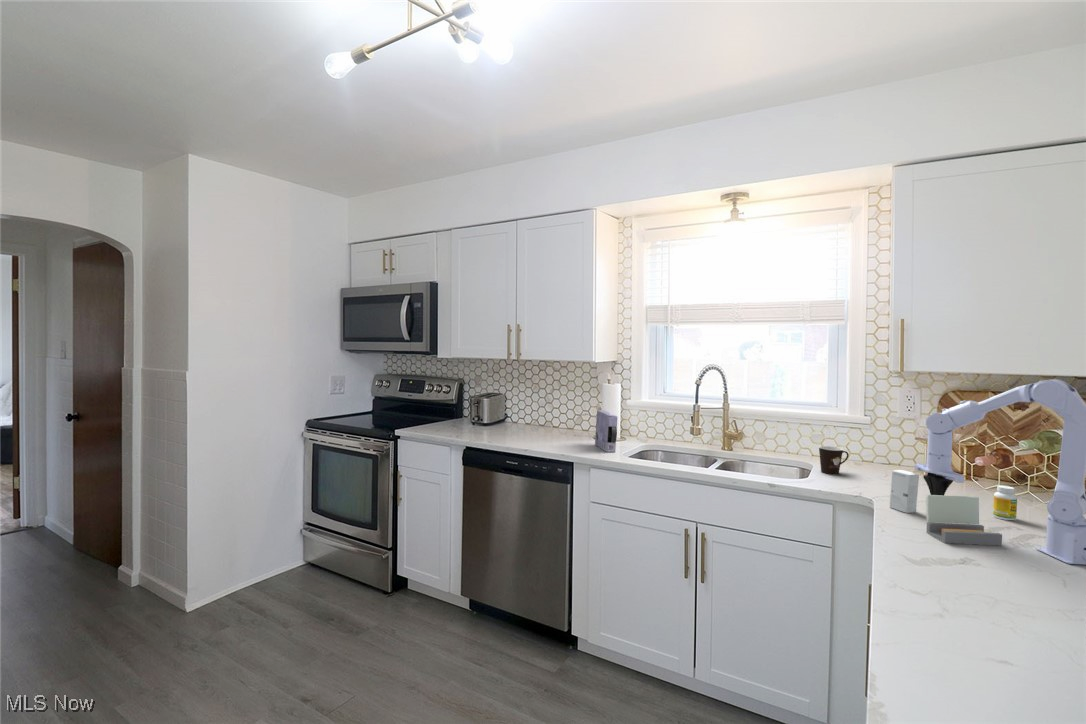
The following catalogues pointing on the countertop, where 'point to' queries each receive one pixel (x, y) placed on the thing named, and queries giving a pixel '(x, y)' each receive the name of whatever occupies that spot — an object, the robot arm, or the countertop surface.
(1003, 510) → the supplement bottle
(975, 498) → the cover
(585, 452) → the countertop surface
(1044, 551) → the robot arm
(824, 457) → the coffee mug
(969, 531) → the tall wooden block
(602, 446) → the cake pan box
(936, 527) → the grey open tray
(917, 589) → the countertop surface
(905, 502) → the skincare box
